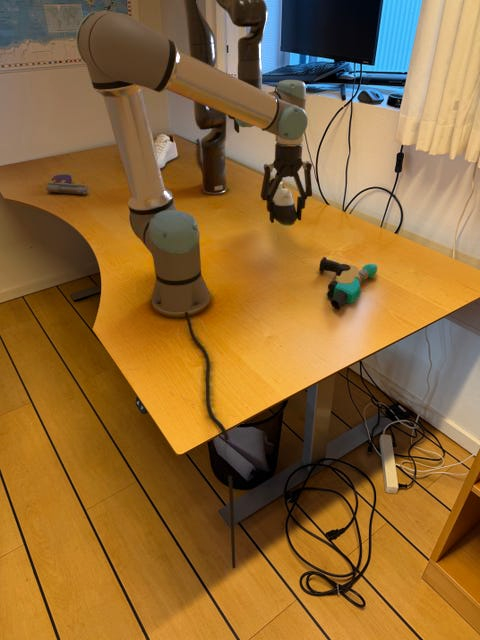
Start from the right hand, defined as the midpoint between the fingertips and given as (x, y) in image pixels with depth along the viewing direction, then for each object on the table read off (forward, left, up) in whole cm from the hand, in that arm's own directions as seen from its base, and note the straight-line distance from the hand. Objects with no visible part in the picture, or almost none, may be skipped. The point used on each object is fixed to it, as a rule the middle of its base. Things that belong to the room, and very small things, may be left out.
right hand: (250, 131), depth 155 cm
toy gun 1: (-60, -48, -29) cm, 82 cm away
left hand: (+28, -6, -19) cm, 35 cm away
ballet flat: (+21, -3, -20) cm, 29 cm away
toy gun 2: (+56, -7, -29) cm, 63 cm away
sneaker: (-69, -6, -29) cm, 75 cm away
